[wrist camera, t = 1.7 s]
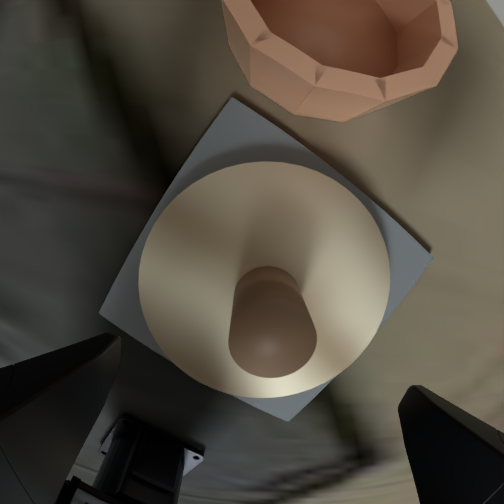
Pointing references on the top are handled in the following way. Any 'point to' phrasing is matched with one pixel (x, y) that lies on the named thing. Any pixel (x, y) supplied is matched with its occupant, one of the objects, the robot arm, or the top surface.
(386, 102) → the bowl
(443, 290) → the top surface
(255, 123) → the mat
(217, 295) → the lid
